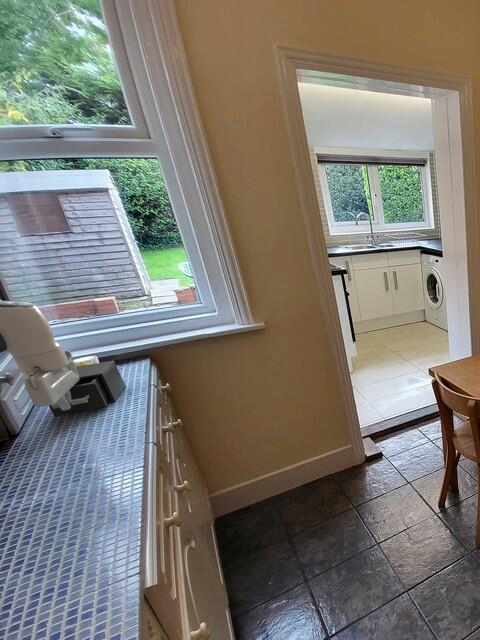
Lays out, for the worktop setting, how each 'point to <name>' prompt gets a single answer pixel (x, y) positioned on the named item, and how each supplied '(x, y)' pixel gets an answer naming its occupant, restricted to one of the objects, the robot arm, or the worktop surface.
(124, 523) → the worktop surface
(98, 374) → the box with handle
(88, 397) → the drawer
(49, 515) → the worktop surface
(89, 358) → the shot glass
